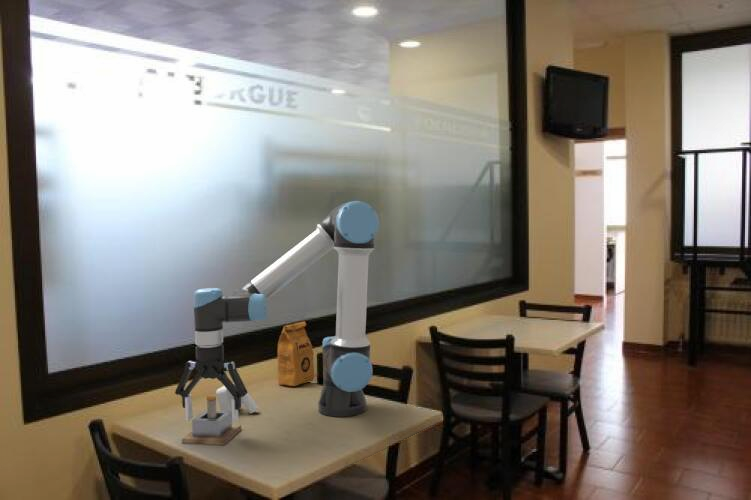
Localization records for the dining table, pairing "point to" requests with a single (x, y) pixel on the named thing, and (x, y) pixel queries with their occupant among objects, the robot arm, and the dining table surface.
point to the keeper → (212, 440)
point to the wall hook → (225, 401)
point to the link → (212, 424)
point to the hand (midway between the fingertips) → (212, 420)
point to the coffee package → (295, 356)
